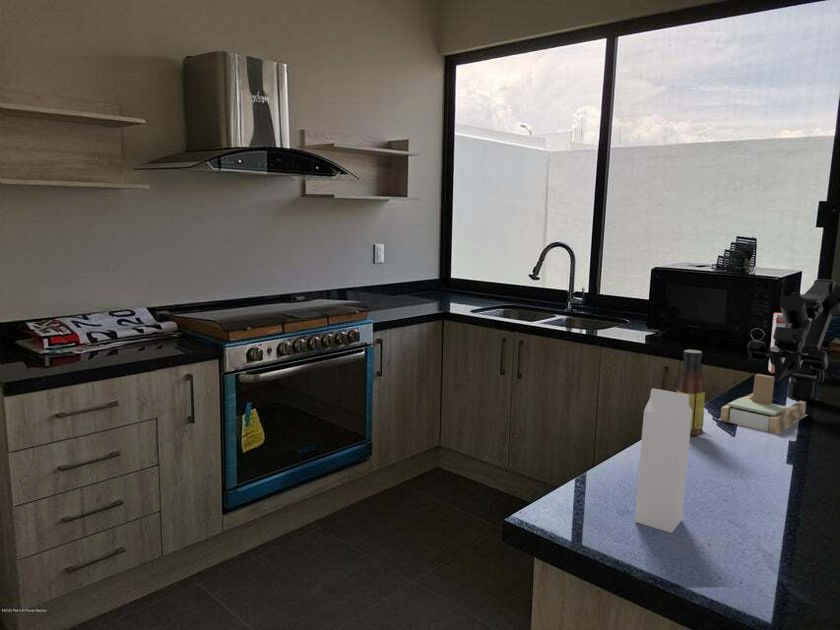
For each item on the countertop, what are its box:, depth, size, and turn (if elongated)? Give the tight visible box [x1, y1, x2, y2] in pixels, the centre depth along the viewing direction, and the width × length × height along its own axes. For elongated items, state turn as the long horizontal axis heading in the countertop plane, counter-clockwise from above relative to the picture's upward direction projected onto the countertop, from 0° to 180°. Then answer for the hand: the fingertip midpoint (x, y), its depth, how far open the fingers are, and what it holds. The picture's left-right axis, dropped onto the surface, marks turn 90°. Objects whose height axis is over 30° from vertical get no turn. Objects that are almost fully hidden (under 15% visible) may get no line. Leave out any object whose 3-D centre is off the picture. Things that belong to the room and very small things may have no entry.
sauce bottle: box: [676, 349, 706, 436], centre depth 150 cm, size 6×6×20 cm
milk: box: [634, 388, 692, 534], centre depth 103 cm, size 6×6×22 cm
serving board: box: [717, 392, 808, 435], centre depth 164 cm, size 24×14×4 cm, turn 134°
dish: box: [729, 407, 773, 430], centre depth 159 cm, size 9×9×3 cm
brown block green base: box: [727, 373, 787, 416], centre depth 159 cm, size 9×11×8 cm
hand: (776, 380), depth 168 cm, fingers closed
